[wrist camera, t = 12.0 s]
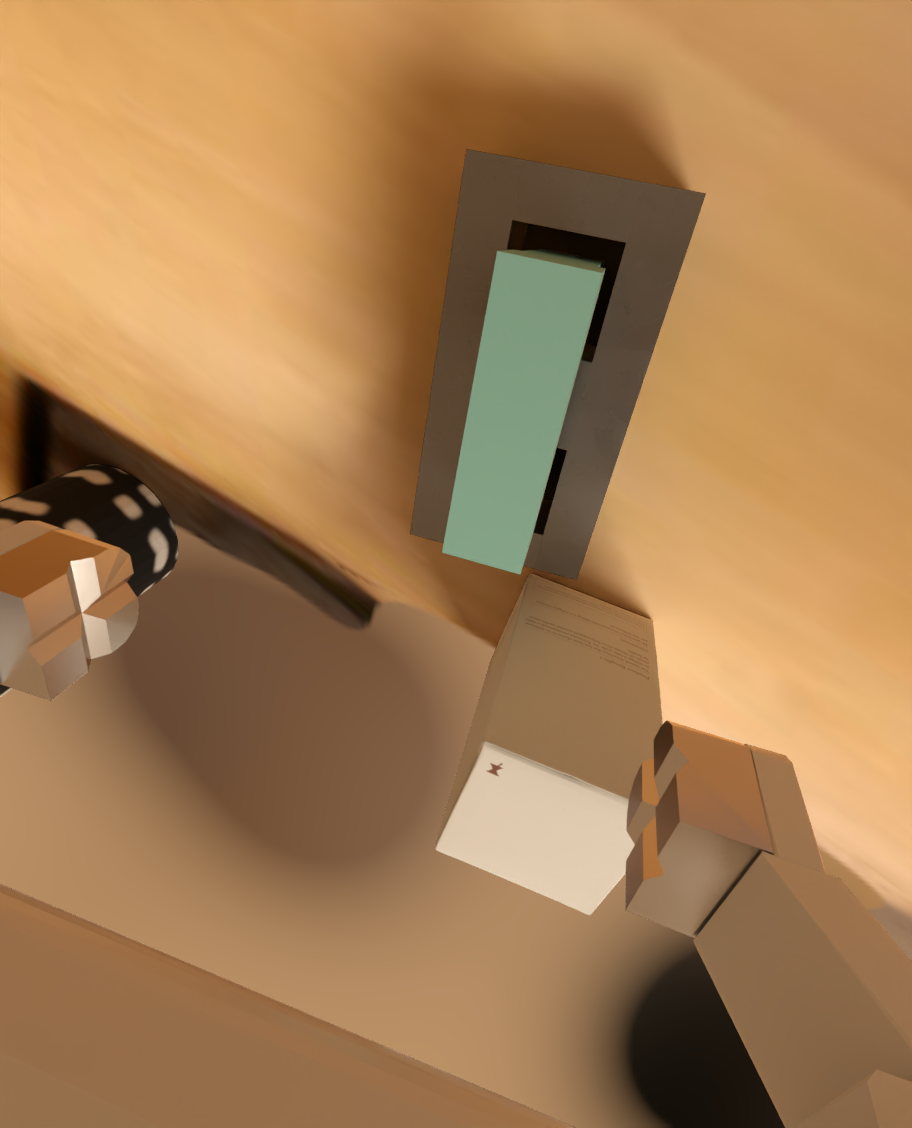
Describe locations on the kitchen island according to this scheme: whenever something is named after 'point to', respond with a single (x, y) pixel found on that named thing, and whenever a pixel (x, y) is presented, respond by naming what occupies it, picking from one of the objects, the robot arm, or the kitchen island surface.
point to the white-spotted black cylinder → (103, 518)
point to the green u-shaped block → (519, 401)
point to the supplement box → (557, 747)
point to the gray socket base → (607, 371)
